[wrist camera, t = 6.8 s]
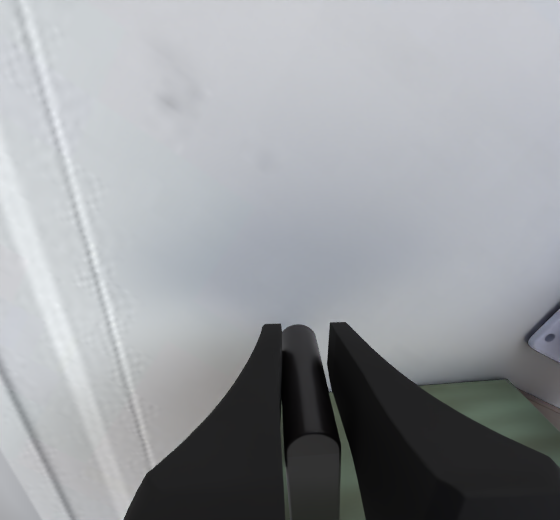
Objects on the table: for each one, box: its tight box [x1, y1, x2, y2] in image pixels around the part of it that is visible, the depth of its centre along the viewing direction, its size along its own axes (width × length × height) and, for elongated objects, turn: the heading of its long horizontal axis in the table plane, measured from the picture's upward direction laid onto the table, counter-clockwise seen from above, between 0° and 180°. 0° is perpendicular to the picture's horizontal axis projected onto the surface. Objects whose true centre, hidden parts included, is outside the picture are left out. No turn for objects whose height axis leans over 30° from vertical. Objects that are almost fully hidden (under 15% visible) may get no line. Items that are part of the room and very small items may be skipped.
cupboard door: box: [280, 325, 560, 520], centre depth 12 cm, size 8×15×10 cm, turn 94°
